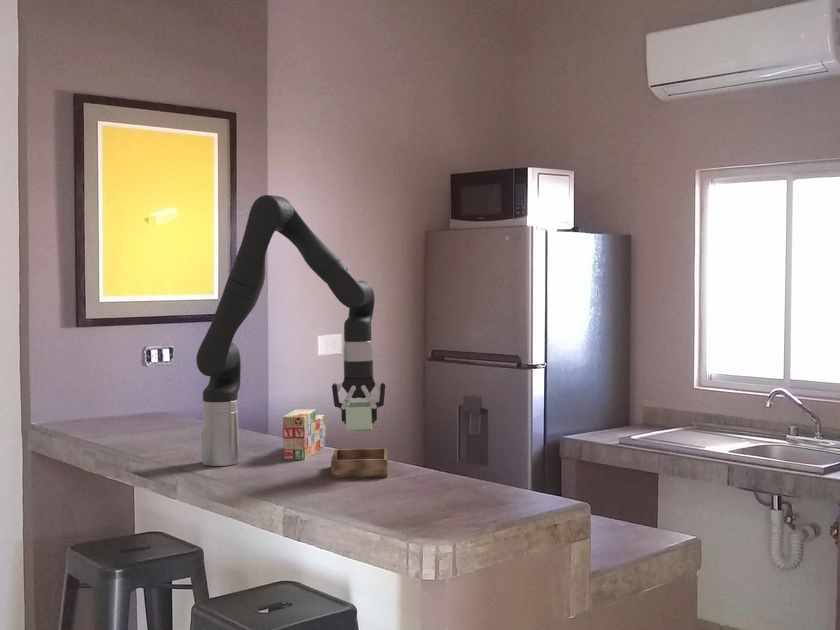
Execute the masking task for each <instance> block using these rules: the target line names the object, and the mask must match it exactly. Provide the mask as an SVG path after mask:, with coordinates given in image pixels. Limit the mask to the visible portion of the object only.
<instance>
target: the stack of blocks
mask: <svg viewBox="0 0 840 630" xmlns="http://www.w3.org/2000/svg"><path fill="white" fill-rule="evenodd" d="M325 415H326V414H317V409H304V408H303V409H302V408H300V409H294V410H292V411H290V412H289V413H287V414H284V415H283V416H282V440H283V460H285V459H286V460H287V459H289V460H290V459H291V460H292V459H295V460H294V461H305V459H306V458H307V459H309V458H310V457H312V456H313V455H314V454H316V453H317V452H318V451H319V449H320V450H322V448H324V447H325V446H326V445H327V440H326V439H327V437H326V436H327V434H326V428H327V427H326V416H325ZM320 447H322V448H320ZM317 450H318V451H317ZM316 451H317V452H316ZM312 454H313V455H312ZM311 455H312V456H311ZM309 456H310V457H309ZM308 457H309V458H308ZM307 459H306V460H307ZM291 460H290V461H291ZM287 461H288V460H287Z"/></svg>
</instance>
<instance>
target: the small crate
mask: <svg viewBox="0 0 840 630" xmlns="http://www.w3.org/2000/svg"><path fill="white" fill-rule="evenodd" d="M372 430H373V423H372V406H371V404H370V402H369V401H349V403H348V405H346V424H345V431H346V432H368V431H369V432H371V431H372Z"/></svg>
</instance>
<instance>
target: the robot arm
mask: <svg viewBox="0 0 840 630" xmlns="http://www.w3.org/2000/svg"><path fill="white" fill-rule="evenodd" d="M247 217H248V219H247V221H246V225H245V229H244V233H243V237H242V241H241V244H240V246H239V249H238V252H237V254H236V257H235V260H234V263H233V266H232V267H231V270H230V271H229V272H230V273H229V275H228V278H227V280H226V282H225V285H224V289H223V291H222V295H221V297H220V301H219V302H218V305H217V307H216V311H215V314H214V316H213V318H212V321H211V323H210V326H209V328H208V330H207V332H206V334H205V335H204V338H203V340H202V342H201V344H200V345H199V348H198V350H197V354H196V362H195V363H196V365H197V367H196V368H197V369H198V371H199V372H200V374H202V375H204V376H206V377H209V382H208V384H207V386H206V387H205V388H204V389H203V391H202V413H203V415H202V417H203V421H202V422H203V428H202V430H201V445H202V446H201V447H202V448H201V449H202V466H210V467H223V466H232V465H236V464H238V463H240V452H239V450H240V449H239V448H240V447H239V445H240V442H239V409H238V408H239V407H238V405H239V404H238V402H239V401H238V397H239V395H238V394H239V391H240V387H241V367H242V366H241V364H242V363H241V354H240V350H239V348H238V347H237V345H236V344H235V343H234V342H233V340H234V337H235V334H236V333H237V331H238V329H239V328H240V326H241V325H242V324H243V322H245V320H246V319H247V318H248V316H249V315H250V313H251V312H252V311H253V309H254V308H255V306H256V305H257V302H258V300H259V297H260V295H261V291H262V289H263V287H264V282H265V278H266V255H267V250H268V249H269V245H270V244H271V243H270V242H271V240H272V238H273V236H274V233H275V232H278V233H279V234H280V235H282V236H283V237H285V238H286V239H287V240H289V241H290V242H291V244H293V245H294V246H295V247H296V249H297V250H298V252H299V253H300V255H301V256H302V258H303V260H304V262H305V263H306V265H308V267H309V268H310V270H312V271H313V272H314V273H315V275H317V276H318V277H319V278H320V279H321V280H322V282H324V283H325V284H327V286H328V288H329V290H330V291H331V292H332V293H333V295H334V296H335V298H336V299H337V300H338V301H339V302H340V303H341V304H342V305H343V306H345V307H346V308H347V309H349V310H348V317H347V319H346V320H345V321H344V324H343V337H344V338H343V340H344V341H343V342H344V343H343V381H342V382H340V383H336V382H333V383H332V385H331V390H332V391H331V392H332V400H333V406H334V407H335V408H337V409H340V410H341V421H342V422H343V424H344V425H346V405H348V403H349V402H351V399H359V398H361V399H367V402H370V404H371V406H372V424H375V422H377V420H378V412H377V411H378V408H380V407H383V406H384V405H385V394H386V393H385V392H386V382H384V381H383V382H376V381H375V380H374V349H373V342H372V337H373V336H372V319H373V315H374V309H375V301H376V300H375V291H374V288H373V287H372V285H371V284H370V283H369V282H367V281H366V280H356V279H355V278H354V277H353V276H352V275H351V273H349V269H348V267H347V265H346V263H345V262H344V261H343V260H341V258H340V257H339V256H337V255H336V254H335V253H334V252H333V251H332V250H331V249H330V248H329V247H328V246H327V245H326V244H325V242H323V241H322V240H321V239H320V238H319V237H318V236H317V234H315V232H313V230H312V229H311V228H310V227H309V226H308V224H307V223H306V222H305V221H304V219H303V218H302V217H301V215H300V214H299V212H298V211H297V210H296V208H295V206H293V204H292V203H291V202H290V201H289V200H288V199H287V198H285V197H283V196H278V195H271V194H270V195H269V194H264V195H260V196H259V197H258V198H256V199H255V200H254V201H253V203H252V205H251V207H250V210H249V214H248V216H247ZM375 387H376V389H377V391H378V392H379V400H378V401H377V402H376V400H375V399H374V396H373V395H372V393H371V392H372V391H373V389H374V388H375ZM341 388H343V389H344V391H345V392H346V393H347V394H346V396H345V398H344V401H343V402H341V401H340V395H339V392H341V390H342V389H341Z"/></svg>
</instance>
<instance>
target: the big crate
mask: <svg viewBox="0 0 840 630" xmlns="http://www.w3.org/2000/svg"><path fill="white" fill-rule="evenodd" d="M330 466H331V467H330V469H331V470H330V478H331V479H364V478H365V477H381V478H388V469H389V468H388V448H386V447H385V448H381V447H380V448H343V449H341V448H340V449H339V448H338V449H334V450H333V453H332V456H331V459H330ZM387 468H388V469H387ZM365 479H366V478H365Z"/></svg>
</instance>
